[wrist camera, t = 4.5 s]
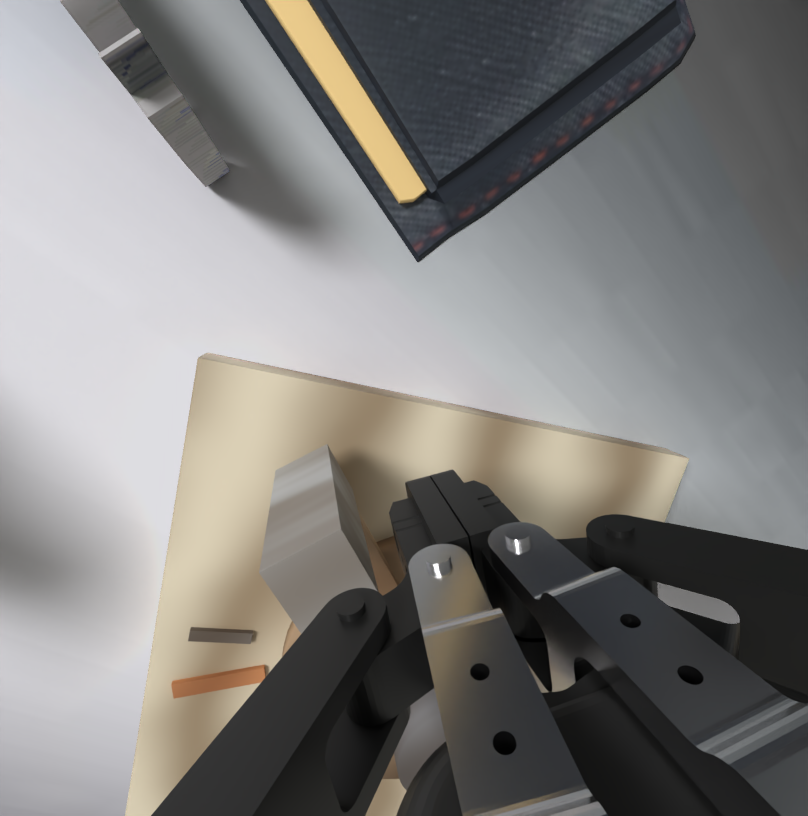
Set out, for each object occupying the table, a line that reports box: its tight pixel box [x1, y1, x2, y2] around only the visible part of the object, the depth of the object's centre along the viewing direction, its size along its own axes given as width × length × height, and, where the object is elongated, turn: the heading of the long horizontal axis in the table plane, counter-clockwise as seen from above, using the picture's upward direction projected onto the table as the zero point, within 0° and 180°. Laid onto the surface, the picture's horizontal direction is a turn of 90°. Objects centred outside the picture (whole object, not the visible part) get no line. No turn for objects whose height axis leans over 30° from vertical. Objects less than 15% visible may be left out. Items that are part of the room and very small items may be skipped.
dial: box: [259, 444, 446, 791], centre depth 16 cm, size 17×12×7 cm
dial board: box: [125, 353, 689, 816], centre depth 21 cm, size 22×22×2 cm
